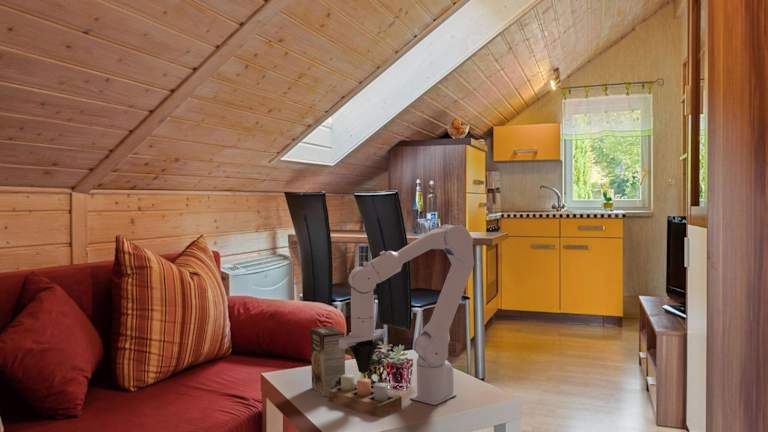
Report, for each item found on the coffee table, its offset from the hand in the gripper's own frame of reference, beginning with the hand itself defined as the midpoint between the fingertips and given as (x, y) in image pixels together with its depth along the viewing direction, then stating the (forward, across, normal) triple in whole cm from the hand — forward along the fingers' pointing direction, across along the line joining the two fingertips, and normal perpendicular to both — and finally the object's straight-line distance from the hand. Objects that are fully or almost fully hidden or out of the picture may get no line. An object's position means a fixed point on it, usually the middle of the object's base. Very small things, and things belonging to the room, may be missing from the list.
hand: (363, 371), depth 144 cm
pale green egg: (+6, 0, -6) cm, 8 cm away
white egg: (+6, 0, +6) cm, 8 cm away
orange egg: (+6, 0, 0) cm, 6 cm away
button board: (+8, 0, 0) cm, 8 cm away
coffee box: (+8, -2, -15) cm, 17 cm away
